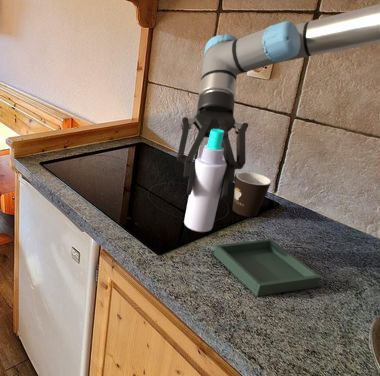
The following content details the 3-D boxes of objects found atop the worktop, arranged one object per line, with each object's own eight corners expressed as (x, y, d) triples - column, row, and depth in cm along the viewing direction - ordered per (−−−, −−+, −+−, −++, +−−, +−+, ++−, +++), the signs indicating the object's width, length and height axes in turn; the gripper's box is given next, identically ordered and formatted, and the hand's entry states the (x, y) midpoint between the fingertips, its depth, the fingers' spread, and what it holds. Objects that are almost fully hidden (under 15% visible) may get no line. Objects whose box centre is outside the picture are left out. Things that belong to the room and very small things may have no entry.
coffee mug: (264, 221, 108) (273, 187, 104) (229, 215, 110) (237, 181, 106) (258, 202, 118) (267, 170, 114) (226, 197, 120) (234, 166, 116)
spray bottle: (181, 228, 89) (199, 132, 80) (186, 216, 94) (203, 124, 85) (210, 235, 87) (232, 137, 77) (213, 223, 91) (234, 129, 82)
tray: (317, 287, 83) (321, 276, 82) (256, 296, 80) (260, 285, 79) (267, 248, 96) (270, 238, 95) (213, 254, 93) (215, 245, 92)
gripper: (257, 111, 91) (251, 207, 84) (170, 104, 96) (157, 194, 89) (268, 92, 85) (262, 195, 77) (173, 86, 89) (160, 181, 82)
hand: (206, 194), depth 83 cm, fingers closed on spray bottle, 6 cm apart
